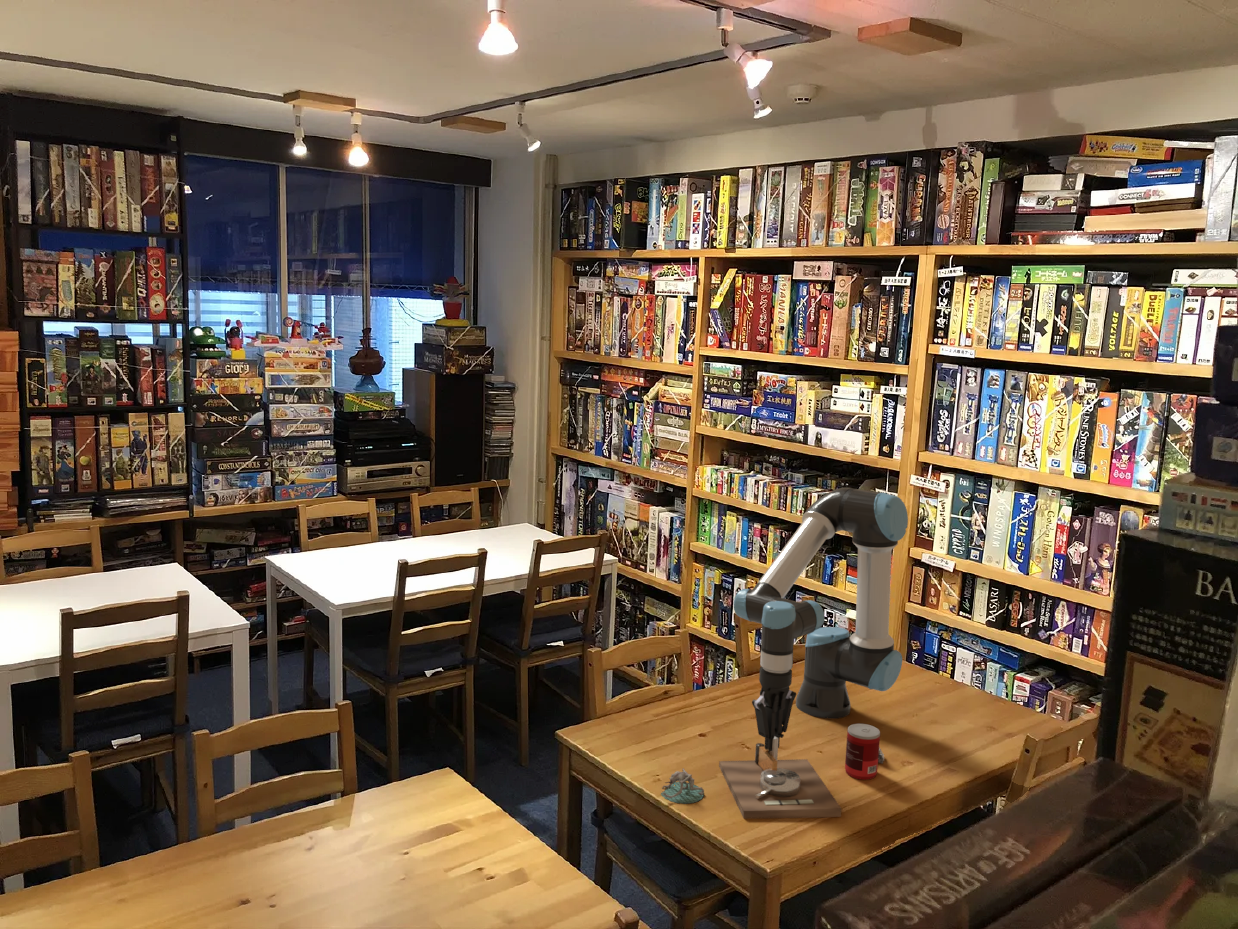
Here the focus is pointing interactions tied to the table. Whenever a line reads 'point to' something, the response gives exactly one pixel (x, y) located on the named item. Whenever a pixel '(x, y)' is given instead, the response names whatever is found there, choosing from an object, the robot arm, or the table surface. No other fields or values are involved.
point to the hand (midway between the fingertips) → (771, 762)
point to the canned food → (862, 751)
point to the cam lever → (775, 776)
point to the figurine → (682, 789)
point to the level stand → (802, 805)
